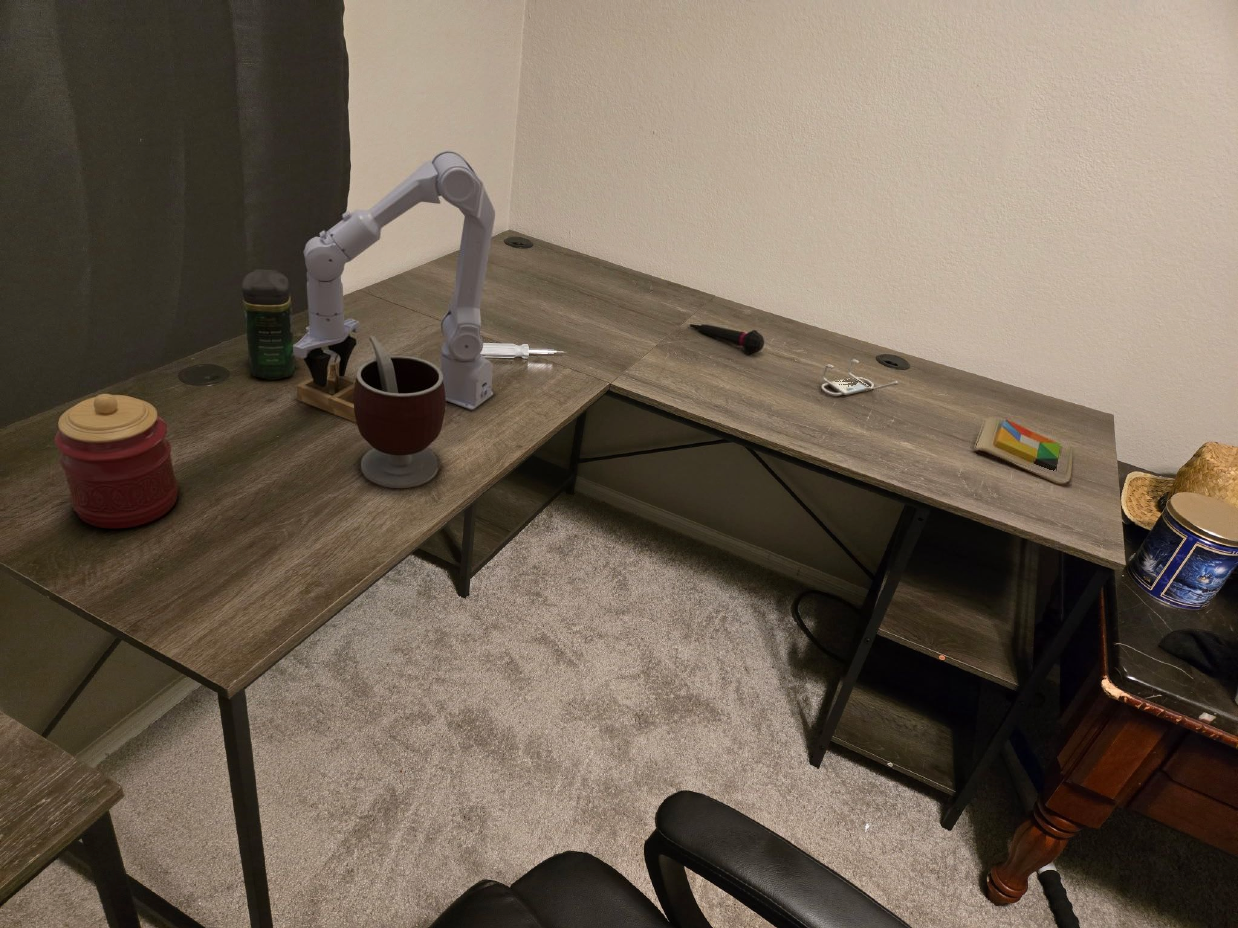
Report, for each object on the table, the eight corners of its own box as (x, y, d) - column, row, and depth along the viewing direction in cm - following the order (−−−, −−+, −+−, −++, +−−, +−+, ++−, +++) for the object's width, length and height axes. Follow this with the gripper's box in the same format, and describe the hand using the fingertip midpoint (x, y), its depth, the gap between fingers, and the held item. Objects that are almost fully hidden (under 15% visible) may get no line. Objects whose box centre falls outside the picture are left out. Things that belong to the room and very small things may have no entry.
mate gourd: (459, 474, 132) (465, 367, 121) (384, 501, 123) (383, 388, 112) (408, 431, 140) (409, 327, 129) (334, 453, 131) (329, 344, 120)
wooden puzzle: (1066, 488, 160) (1074, 474, 158) (971, 453, 166) (978, 439, 164) (1070, 453, 173) (1077, 439, 171) (982, 421, 179) (988, 408, 178)
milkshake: (329, 408, 142) (325, 358, 137) (310, 396, 144) (306, 346, 139) (350, 400, 145) (348, 351, 140) (332, 388, 148) (329, 340, 142)
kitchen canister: (194, 481, 120) (177, 378, 110) (155, 535, 109) (132, 426, 99) (103, 472, 118) (77, 366, 109) (54, 525, 107) (21, 414, 98)
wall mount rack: (855, 374, 190) (862, 353, 187) (898, 402, 181) (907, 379, 178) (809, 384, 182) (817, 361, 178) (853, 413, 173) (861, 390, 170)
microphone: (685, 340, 198) (757, 361, 189) (683, 321, 194) (757, 341, 185) (696, 328, 201) (768, 348, 192) (695, 309, 197) (768, 328, 188)
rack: (394, 408, 145) (394, 394, 144) (366, 427, 139) (365, 412, 137) (327, 383, 149) (327, 369, 148) (297, 399, 143) (296, 385, 141)
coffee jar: (295, 381, 148) (288, 287, 138) (249, 381, 145) (238, 286, 135) (296, 357, 155) (289, 266, 145) (251, 357, 153) (241, 264, 143)
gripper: (335, 290, 142) (338, 358, 150) (276, 315, 131) (282, 387, 138) (368, 302, 140) (369, 370, 148) (310, 328, 129) (315, 400, 136)
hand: (329, 379), depth 143 cm, fingers closed on milkshake, 4 cm apart
